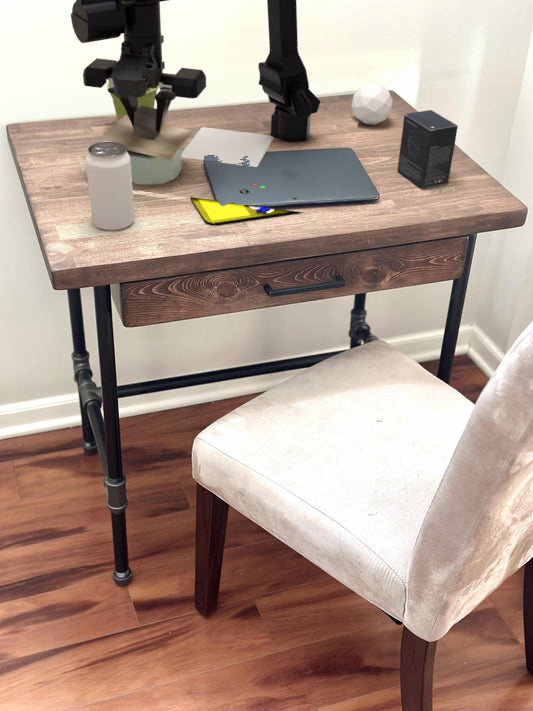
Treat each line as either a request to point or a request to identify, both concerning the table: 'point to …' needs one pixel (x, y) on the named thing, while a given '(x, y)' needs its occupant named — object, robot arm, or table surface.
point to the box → (426, 148)
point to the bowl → (154, 168)
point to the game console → (235, 211)
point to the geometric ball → (372, 103)
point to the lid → (147, 134)
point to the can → (110, 186)
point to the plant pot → (144, 100)
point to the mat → (228, 146)
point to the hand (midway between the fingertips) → (147, 129)
